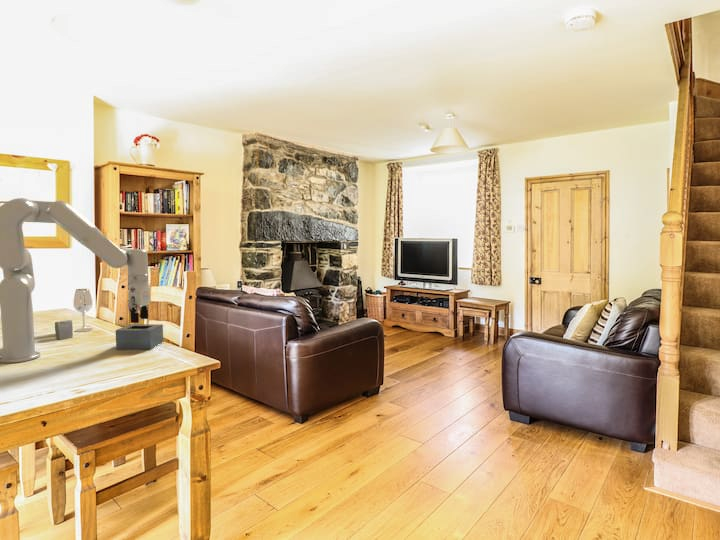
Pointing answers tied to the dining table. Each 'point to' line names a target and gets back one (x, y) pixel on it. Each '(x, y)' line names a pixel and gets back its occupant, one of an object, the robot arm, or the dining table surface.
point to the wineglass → (83, 305)
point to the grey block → (64, 329)
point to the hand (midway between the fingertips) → (139, 320)
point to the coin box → (139, 336)
